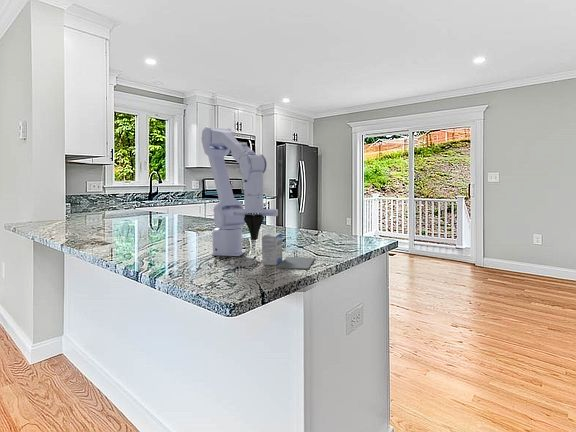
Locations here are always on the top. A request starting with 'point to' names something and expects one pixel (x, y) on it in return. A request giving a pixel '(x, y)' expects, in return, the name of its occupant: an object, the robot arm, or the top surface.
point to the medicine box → (272, 248)
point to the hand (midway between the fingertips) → (254, 239)
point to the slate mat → (296, 263)
